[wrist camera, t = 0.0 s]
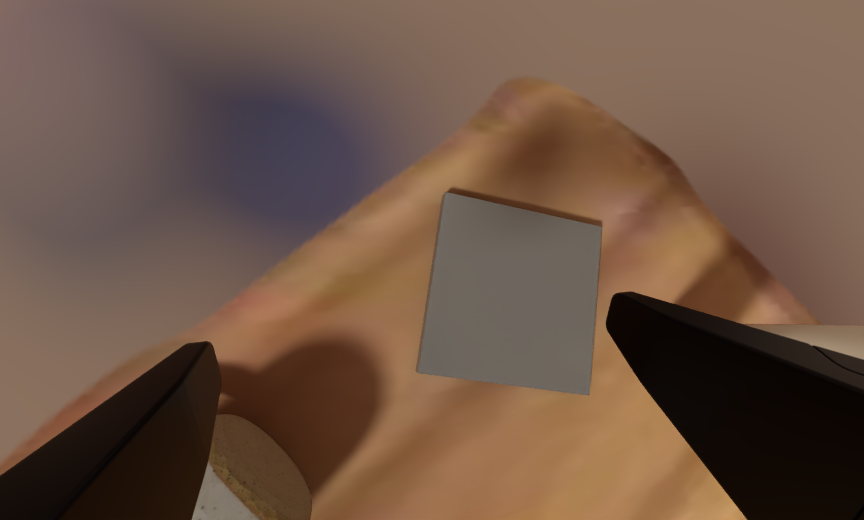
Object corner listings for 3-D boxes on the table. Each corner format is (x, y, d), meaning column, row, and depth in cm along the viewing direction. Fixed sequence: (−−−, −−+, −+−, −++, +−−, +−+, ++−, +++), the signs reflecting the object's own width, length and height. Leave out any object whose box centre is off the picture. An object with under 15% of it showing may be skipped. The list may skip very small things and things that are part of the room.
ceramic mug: (328, 481, 21) (317, 560, 14) (208, 613, 19) (125, 783, 12) (193, 349, 21) (113, 361, 14) (57, 469, 19) (-120, 557, 12)
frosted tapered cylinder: (708, 363, 28) (1011, 401, 15) (666, 405, 26) (958, 483, 14) (671, 309, 28) (944, 302, 15) (628, 349, 26) (885, 377, 14)
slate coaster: (581, 393, 25) (589, 395, 24) (415, 371, 23) (418, 373, 22) (594, 229, 27) (601, 226, 26) (442, 195, 25) (445, 191, 24)
